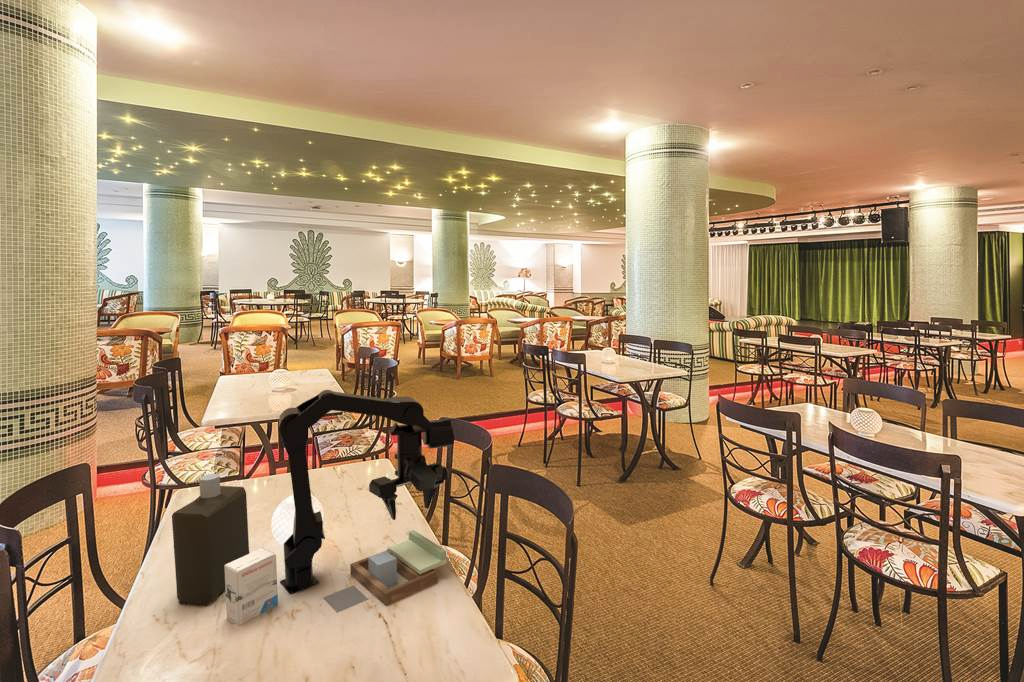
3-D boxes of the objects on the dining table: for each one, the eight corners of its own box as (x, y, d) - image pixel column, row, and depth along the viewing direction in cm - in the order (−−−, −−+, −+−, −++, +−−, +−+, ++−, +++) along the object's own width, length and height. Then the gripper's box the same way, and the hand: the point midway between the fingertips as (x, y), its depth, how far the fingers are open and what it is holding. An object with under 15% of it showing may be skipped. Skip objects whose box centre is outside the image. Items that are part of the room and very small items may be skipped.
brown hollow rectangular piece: (350, 576, 124) (350, 563, 124) (400, 557, 133) (399, 545, 133) (385, 607, 113) (385, 593, 112) (437, 584, 121) (437, 571, 121)
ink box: (265, 598, 116) (262, 546, 114) (279, 606, 113) (277, 552, 112) (225, 619, 108) (222, 564, 107) (239, 628, 106) (236, 571, 104)
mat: (322, 599, 115) (322, 597, 115) (353, 586, 120) (353, 585, 120) (337, 614, 110) (337, 612, 110) (368, 600, 115) (368, 599, 115)
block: (368, 582, 121) (368, 557, 120) (386, 575, 124) (386, 550, 124) (378, 591, 118) (378, 565, 117) (397, 583, 121) (396, 558, 120)
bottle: (253, 567, 128) (248, 465, 125) (208, 608, 112) (201, 492, 109) (221, 565, 129) (215, 463, 126) (173, 605, 113) (165, 490, 110)
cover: (388, 551, 129) (387, 539, 129) (413, 541, 134) (413, 529, 134) (419, 574, 119) (419, 561, 119) (446, 563, 124) (446, 550, 124)
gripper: (392, 468, 116) (393, 538, 118) (461, 450, 128) (462, 513, 130) (367, 456, 124) (368, 521, 126) (435, 440, 137) (435, 499, 138)
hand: (410, 513), depth 130 cm, fingers open, 9 cm apart
